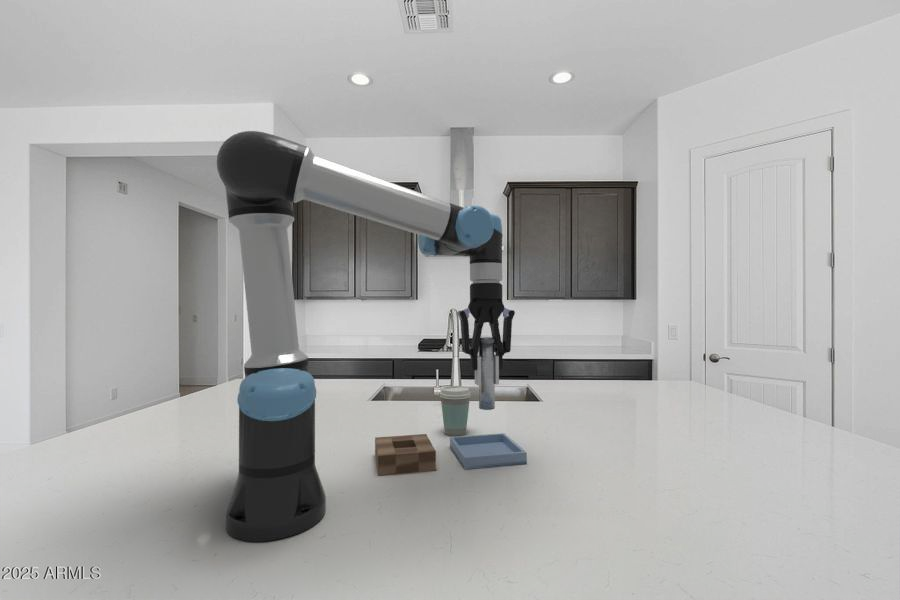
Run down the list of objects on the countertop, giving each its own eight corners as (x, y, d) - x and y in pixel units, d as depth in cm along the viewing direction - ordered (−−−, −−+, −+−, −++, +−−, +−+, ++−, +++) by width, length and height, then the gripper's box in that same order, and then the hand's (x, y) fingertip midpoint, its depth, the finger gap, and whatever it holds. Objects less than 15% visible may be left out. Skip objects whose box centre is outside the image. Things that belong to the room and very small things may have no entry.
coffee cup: (471, 428, 118) (471, 385, 118) (470, 438, 109) (470, 392, 110) (441, 427, 119) (441, 385, 119) (437, 437, 110) (437, 391, 110)
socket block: (435, 470, 89) (435, 451, 89) (377, 475, 86) (378, 455, 86) (426, 450, 100) (426, 433, 100) (375, 454, 98) (375, 437, 98)
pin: (498, 409, 96) (498, 338, 96) (480, 410, 95) (480, 338, 95) (492, 405, 100) (492, 337, 100) (475, 406, 99) (475, 337, 99)
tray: (526, 463, 92) (526, 452, 92) (464, 469, 89) (464, 457, 89) (504, 443, 106) (504, 433, 106) (449, 447, 103) (449, 437, 103)
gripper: (513, 283, 103) (514, 379, 103) (447, 283, 99) (448, 382, 99) (526, 281, 96) (526, 385, 96) (454, 281, 92) (455, 389, 92)
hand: (486, 383), depth 97 cm, fingers closed on pin, 3 cm apart
